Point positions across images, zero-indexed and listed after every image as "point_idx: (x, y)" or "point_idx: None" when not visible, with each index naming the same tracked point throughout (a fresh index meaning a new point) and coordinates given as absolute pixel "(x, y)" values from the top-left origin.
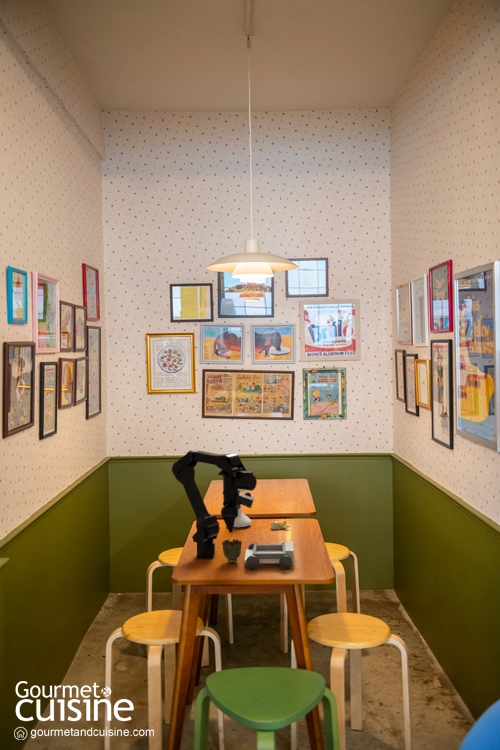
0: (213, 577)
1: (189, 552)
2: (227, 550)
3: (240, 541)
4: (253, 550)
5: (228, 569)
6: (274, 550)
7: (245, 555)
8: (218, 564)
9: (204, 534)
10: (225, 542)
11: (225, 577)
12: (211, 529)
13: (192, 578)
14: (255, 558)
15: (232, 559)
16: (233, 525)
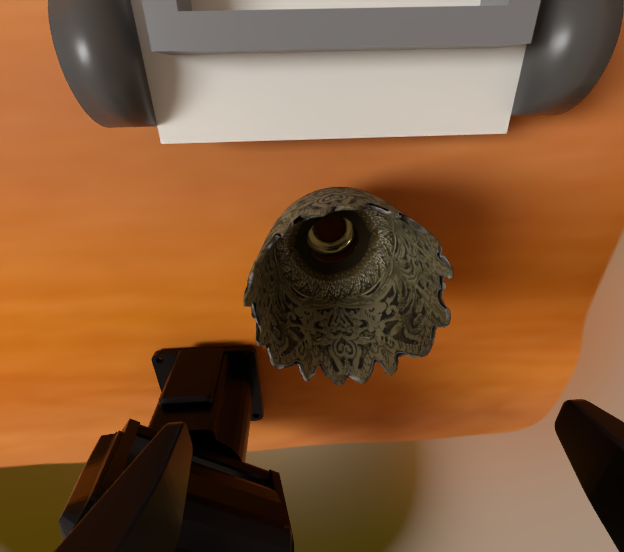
0: (589, 299)
1: None
2: (412, 303)
3: (293, 223)
4: (399, 42)
5: (469, 236)
6: None
7: (368, 135)
8: None
9: (292, 538)
10: (291, 352)
11: (616, 237)
12: (244, 549)
13: (565, 382)
14: (616, 4)
15: (371, 234)
16: (186, 429)
